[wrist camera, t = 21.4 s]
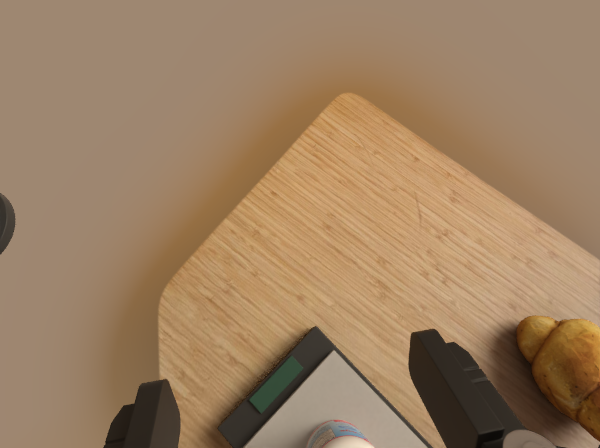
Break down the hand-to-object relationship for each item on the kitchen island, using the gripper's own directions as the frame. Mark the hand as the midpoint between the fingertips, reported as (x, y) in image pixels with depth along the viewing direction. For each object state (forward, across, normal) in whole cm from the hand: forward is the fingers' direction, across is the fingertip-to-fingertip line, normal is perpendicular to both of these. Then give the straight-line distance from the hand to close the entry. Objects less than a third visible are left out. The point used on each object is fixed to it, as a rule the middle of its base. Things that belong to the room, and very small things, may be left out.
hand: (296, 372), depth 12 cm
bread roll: (+16, +31, -26) cm, 43 cm away
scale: (+15, +3, -28) cm, 31 cm away
